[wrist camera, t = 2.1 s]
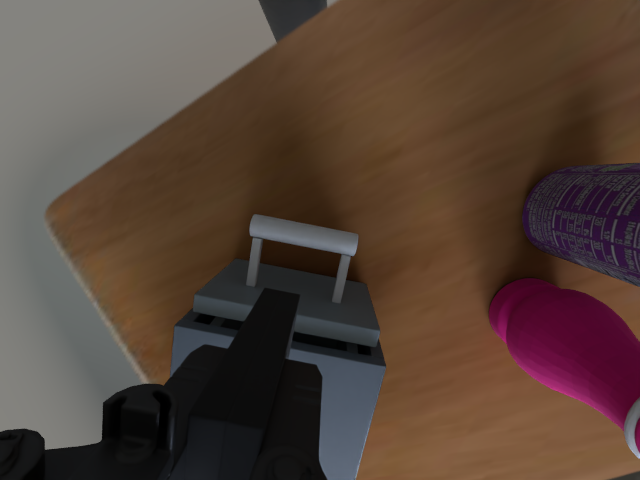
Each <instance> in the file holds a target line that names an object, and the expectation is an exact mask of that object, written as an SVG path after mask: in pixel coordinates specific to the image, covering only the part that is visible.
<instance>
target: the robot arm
mask: <svg viewBox="0 0 640 480" xmlns="http://www.w3.org/2000/svg"><path fill="white" fill-rule="evenodd" d="M300 296H301V295H300V294H295V293H290V292H285V291H280V290H275V289H270V288H264V289H263V291H262V293H261V294H260V296H259V298H258V299H257V301H256V303H255V304H254V306H253V308H252V309H251V311H250V313H249V314H248V316H247V318H246V319H245V321H244V323H243V324H242V326H241V328H240V329H239V331H238V333H237V334H236V336H235V338H234V339H233V341H232V343H231V344H230V346H229V347H228V348H222V347H217V346H212V345H207V344H204V345H202V346H200V347H199V348H197V349H195V350H194V351H192V352H190V353H189V355H188V356H187V357H186V358H185V360H184V361H183V362H182V363H181V366H180V367H178V368H177V370H176V371H175V372H174V373H173V375H172V377H170V378H169V380H168V381H167V382H166V383H165V385H164V386H163V385H160V384H142V385H137V386H132V387H129V388H127V389H124V390H122V391H120V392H117V393H115V394H114V395H113V396H111V397H110V398H109V399H108V400H106V401H105V402H103V424H102V440H101V441H100V442H99V443H96V444H91V445H85V446H78V447H68V448H59V449H49V450H45V441H44V438H43V437H42V436H41V435H40V434H39V433H38V432H36V431H32V430H28V429H14V430H5V431H2V432H0V480H328V479H327V477H326V476H325V474H324V472H323V470H322V467H321V464H320V461H319V438H320V419H321V399H322V379H323V377H322V375H321V373H320V371H319V369H318V367H317V365H316V364H311V363H306V362H300V361H295V360H290V359H288V358H289V354H290V349H291V343H292V338H293V333H294V327H295V322H296V317H297V312H298V306H299V301H300Z"/></svg>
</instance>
